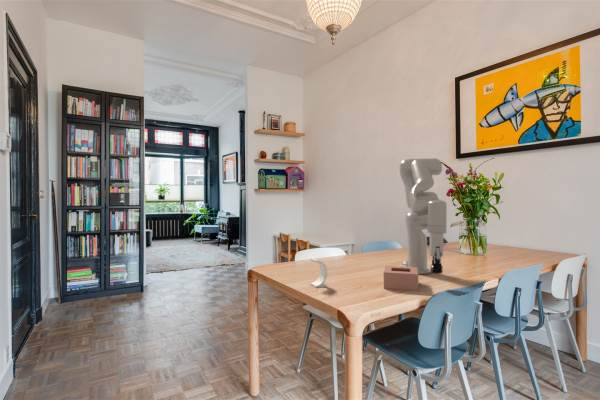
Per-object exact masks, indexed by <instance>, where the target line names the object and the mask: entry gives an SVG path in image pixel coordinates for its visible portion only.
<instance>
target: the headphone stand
mask: <svg viewBox="0 0 600 400" xmlns="http://www.w3.org/2000/svg"><path fill="white" fill-rule="evenodd" d="M310 262H314V263H317V265H318V266H319V269H320V271H319V275H318V278H317V279H316V280H315V281H314V282H311V283H310V286H311V287H314V288H316V289H317V288H324V287H326V286H327V285H326V280H327V278H328V268H327V266H326V264H325V263H324V262H323V261H321V260H318V259H315V258H310Z"/></svg>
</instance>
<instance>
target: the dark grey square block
mask: <svg viewBox="0 0 600 400" xmlns="http://www.w3.org/2000/svg"><path fill="white" fill-rule="evenodd" d="M443 267H444V266H443V265H442V264H441V273H434V272H433V264H432V263H431V264H430V274H431V273H432V274H437V275H438V274H440V275H441V274H443Z"/></svg>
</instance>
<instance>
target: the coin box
mask: <svg viewBox="0 0 600 400" xmlns="http://www.w3.org/2000/svg"><path fill="white" fill-rule="evenodd" d="M383 289H385V290H386V289H387V290H399V291H400V290H401V291H416V292H419V274H418V270H417V267H406V265H402V266H400V265H399V266H398V265H385V266H384V269H383Z"/></svg>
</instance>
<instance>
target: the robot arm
mask: <svg viewBox="0 0 600 400" xmlns="http://www.w3.org/2000/svg"><path fill="white" fill-rule="evenodd" d="M442 172H443V164H442V162H441V160H440V159H438V158H407V159H404V160H402V161H401V162H400V163H399V174H400V178H401V180H402V182H403V186H404V189H405V190H404V191H405V198H406V204H407V208H408V209H410V211H408V212H407V214H406V216H405V223H406V230H407V231H406V232H407V261H406V260H403V262H402V263H401V265H402V266H405V267H417V270H418V275H426V274H427V275H428V274H431V268H428V253H429V255H430V257H432V259H431V265H432V264H433V272H434V273H433V274H436V273H441V265H442V257H444V235H445V234H447V213H448V212H447V210H448V208H447V207H448V206H447V202H446V201H445V200H443V199H439V196H438V194H437V193H436V192H434V191H428V190H430V189H431V188H433V186H434V184H435V181H434V177H433V176H439V175H441V173H442ZM423 230H427V233H429V239H428V238H427V235H426V234H425V233H424V231H423ZM428 240H429V241H428ZM428 242H429V245H428ZM428 247H429V248H428ZM441 274H442V273H441Z"/></svg>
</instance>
